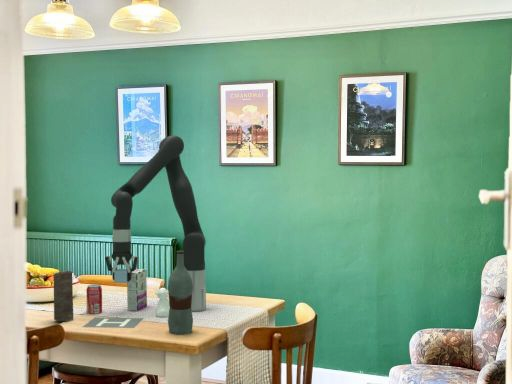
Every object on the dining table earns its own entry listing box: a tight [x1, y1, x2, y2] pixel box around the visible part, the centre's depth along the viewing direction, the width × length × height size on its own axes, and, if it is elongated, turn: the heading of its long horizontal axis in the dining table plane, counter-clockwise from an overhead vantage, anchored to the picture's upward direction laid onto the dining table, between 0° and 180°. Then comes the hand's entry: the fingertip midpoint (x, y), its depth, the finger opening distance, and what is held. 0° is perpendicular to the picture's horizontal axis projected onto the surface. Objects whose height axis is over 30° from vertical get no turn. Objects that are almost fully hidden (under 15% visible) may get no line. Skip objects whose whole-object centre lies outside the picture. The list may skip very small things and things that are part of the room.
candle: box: [53, 270, 74, 322], centre depth 261 cm, size 8×7×20 cm
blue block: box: [113, 268, 128, 284], centre depth 272 cm, size 5×5×5 cm
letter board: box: [82, 317, 145, 329], centre depth 257 cm, size 20×16×1 cm
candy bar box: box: [126, 268, 148, 312], centre depth 285 cm, size 11×5×16 cm, turn 168°
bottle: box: [167, 250, 194, 335], centre depth 244 cm, size 9×9×30 cm
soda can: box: [86, 284, 103, 315], centre depth 274 cm, size 6×6×12 cm
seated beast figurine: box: [154, 287, 170, 318], centre depth 269 cm, size 10×9×12 cm
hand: (121, 281), depth 272 cm, fingers closed on blue block, 5 cm apart
